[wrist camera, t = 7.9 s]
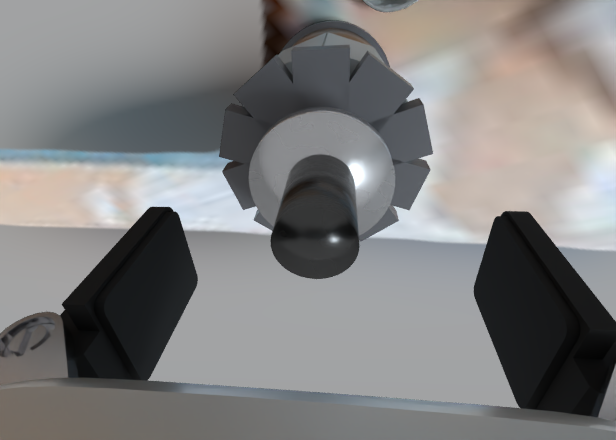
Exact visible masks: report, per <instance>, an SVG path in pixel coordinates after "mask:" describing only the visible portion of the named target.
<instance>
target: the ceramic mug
mask: <svg viewBox="0 0 616 440" xmlns="http://www.w3.org/2000/svg"><path fill="white" fill-rule="evenodd" d="M363 1H364V2H365V3H366V4H367V5H368V6H370V7H371V8H373V9H375V10H377V11H381V12H393V11H399V10H401V9H405V8H407V7H409V6H410V5H412V4H414V3H415V2H417V1H418V0H363Z"/></svg>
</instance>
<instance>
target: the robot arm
mask: <svg viewBox="0 0 616 440" xmlns="http://www.w3.org/2000/svg"><path fill="white" fill-rule="evenodd" d="M197 281H198V278H197V274H196V270H195V267H194V264H193V260H192V257H191V254H190V250H189V247H188V244H187V241H186V237H185V234H184V231H183V227H182V224H181V221H180V218H179V215H178V213H177V212H173V210H172V209H171V208H170V207H150V208H149V209H148V210H147V211H146V212H145V213H144V214H143V215H142V216H141V217H140V218H139V220H138V221H137V222H136V223H135V224H134V225H133V226H132V227H131V228H130V229H129V231H128V232H127V233H126V234H125V235H124V236H123V237H122V238H121V239H120V241H119V242H118V243H117V244H116V245H115V246H114V247H113V248H112V249H111V250H110V251H109V253H108V254H107V255H106V256H105V257H104V258H103V259H102V260H101V261H100V262H99V264H98V265H97V266H96V267H95V268H94V269H93V270H92V271H91V272H90V274H89V275H88V276H87V277H86V278H85V279H84V280H83V281H82V282H81V283H80V285H79V286H78V287H77V288H76V289H75V290H74V291H73V292H72V293H71V294H70V296H69V297H68V298H67V299H66V300H65V301H64V302H63V304H62V305H63V307H64V309H65V310H64V312H63V313H62V314H61V315H58V314H56V313H53V312H42V313H36V314H33V315H30V316H27V317H24V318H22V319H20V320H18V321H16V322H15V323H13V324H12V325H10V326H9V327H7V328H6V329H5V330H4V331H3V332H1V333H0V440H616V321H615V320H614V319H613V318H612V316H611V315H610V314H609V313H608V311H607V310H606V309H605V308H604V306H603V305H602V304H601V302H600V301H599V300H598V299H597V297H595V295H594V294H593V292H592V291H591V290H590V289H589V287H588V286H587V285H586V283H585V282H584V281H583V280H582V278H581V277H580V276H579V275H578V273H577V272H576V271H575V270H574V269H573V267H572V266H571V265H570V263H569V262H568V261H567V259H566V258H565V257H564V256H563V255H562V253H561V252H560V251H559V249H558V248H557V247H556V246H555V244H554V243H553V242H552V240H551V239H550V238H549V237H548V235H547V234H546V233H545V232H544V230H543V229H542V228H541V227H540V225H539V224H538V223H537V221H536V220H535V219H534V218H533V216H532V215H531V214H530V213H529V212H518V211H505V212H503V213H502V215H501V216H497V217H496V218H495V219H494V222H493V225H492V228H491V232H490V235H489V238H488V242H487V245H486V248H485V252H484V255H483V259H482V262H481V265H480V268H479V272H478V275H477V278H476V282H475V285H474V296H475V299H476V302H477V305H478V307H479V310H480V312H481V315H482V317H483V320H484V322H485V325H486V327H487V330H488V332H489V334H490V337H491V339H492V342H493V345H494V347H495V349H496V352H497V355H498V357H499V359H500V362H501V364H502V367H503V370H504V372H505V375H506V377H507V379H508V382H509V385H510V387H511V389H512V392H513V395H514V397H515V399H516V402H517V404H518V406H519V407H520V408H510V407H500V406H489V405H478V404H466V403H452V402H440V401H427V400H413V399H401V398H387V397H375V396H360V395H348V394H333V393H320V392H306V391H292V390H278V389H264V388H249V387H235V386H220V385H205V384H190V383H175V382H159V381H147V380H148V379H149V378H150V376H151V374H152V372H153V370H154V368H155V366H156V364H157V362H158V361H159V359H160V357H161V355H162V353H163V351H164V349H165V347H166V345H167V343H168V341H169V339H170V337H171V335H172V333H173V331H174V329H175V327H176V325H177V323H178V321H179V320H180V317H181V316H182V314H183V312H184V310H185V308H186V306H187V304H188V302H189V300H190V298H191V296H192V294H193V292H194V290H195V288H196V286H197Z"/></svg>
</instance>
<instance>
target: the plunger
mask: <svg viewBox="0 0 616 440" xmlns="http://www.w3.org/2000/svg"><path fill="white" fill-rule="evenodd" d="M249 187H250V191H251V195H252V198H253V200H254V203H255V205H256V207H257V208H258V210H259V212H260V213H261V214H262V216H263V217H264V218H265V219H266V220H267V221H268V222H269V223H270V224H271V225H272V226H273V227H274V228H273V232H272V235H271V248H272V251H273V254H274V256H275V258H276V259H277V261H278V262H279V263H280V264H281V265H282V266H283V267H284V268H285V269H287V270H288V271H290V272H292V273H294V274H296V275H299V276H302V277H306V278H312V279H323V278H329V277H333V276H335V275H338V274H340V273H342V272H344V271H345V270H346V269H348V268H349V267H350V266H351V265H352V264H353V263H354V261H355V259H356V257H357V255H358V252H359V235H361V234H363V233H365V232H366V231H368V230H369V229H371V228H372V227H373V226H374V225H375V224H376V223H377V222H378V221H379V220H380V219H381V218H382V217H383V215H384V214H385V212H386V211H387V209H388V207H389V205H390V203H391V201H392V198H393V195H394V189H395V170H394V166H393V162H392V159H391V155H390V152H389V149H388V147H387V145H386V143H385V141H384V140H383V138H382V137H381V135H380V134H379V133H378V132H377V131H376V129H375V128H374V127H373V126H371V125H370V124H369V123H368V122H367V121H365V120H364V119H362V118H361V117H359V116H357V115H355V114H353V113H351V112H348V111H345V110H342V109H337V108H331V107H313V108H306V109H302V110H299V111H296V112H293V113H291V114H289V115H287V116H285V117H283V118H281V119H280V120H279V121H277V122H276V123H275V124H274V125H273V126H272V127H271V128H270V129H269V130H268V131H267V132H266V133H265V135H264V136H263V137H262V139H261V141H260V143H259V144H258V146H257V148H256V150H255V152H254V154H253V157H252V160H251V163H250V168H249Z"/></svg>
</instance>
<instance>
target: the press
mask: <svg viewBox="0 0 616 440" xmlns="http://www.w3.org/2000/svg"><path fill="white" fill-rule="evenodd" d="M413 89H414V88H413V87H412V86H411V84H410V83H409V82H407V81H406V80H405V79H404V78H402V77H401V76H400V75H398V74H397V73H396V72H395V71H393V70H392V69H391V68H390V66H389V63H388V60H387V58H386V55H385V53H384V52H383V50H382V48H381V47H380V45H379V44H378V43H377V41H376V40H375V39H374V38H373V37H372V36H371V35H370V34H369V33H367V32H366V31H365V30H363V29H362V28H360V27H358V26H356V25H353V24H350V23H347V22H342V21H324V22H319V23H316V24H313V25H310V26H308V27H306V28H304V29H303V30H301V31H300V32H298V33H297V34H296V35H295V36H294V37H292V38H291V39H290V41H289V42H288V43H287V44H286V45H285V46H284V48H283V49H282V51H281V52H280V54H279V55H275V56H274V57H273V58H272V59H271V60H270V61H269V62H268V63H267V64H266V65H265V66H263V67H262V68H261V69H260V70H259V71H258V72H257V73H256V74H255V75H254V76H252V77H251V79H249V80H248V81H247V82H246V83H245V84H244V85H243V86H242V87H240V88H239V89H238V90H237V91H236V92H235V93H234V94H233V95H234V96H235V97H236V98H237V99H238V100H239V102H240V103H241V104H242V106H238V105H235V104H231V105H229V107H227V109H226V110H225V116H224V124H223V131H222V139H221V146H220V154H219V157H222V158H226V159H229V160H233V161H232V162H229V163H227V165H226V166H225V168H224V170H223V171H222V172H223V174H224V176H225V178H226V180H227V181H228V183H229V185H230V187H231V189H232V190H233V192H234V194H235V196H236V198H237V199H238V201H239V203H240V205H241V207H242V209H243V210H245V209H248V208H251V207H255V206H256V205H255V203H254V200H253V198H252V195H251V191H250V187H249V168H250V163H251V160H252V157H253V154H254V152H255V150H256V148H257V146H258V144H259V143H260V141H261V139H262V137H263V136H264V135H265V133H266V132H267V131H268V130H269V129H270V128H271V127H272V126H273V125H274V124H275V123H276V122H277V121H279V120H280V119H281V118H283V117H285V116H287V115H289V114H291V113H293V112H296V111H299V110H302V109H306V108H313V107H331V108H337V109H342V110H345V111H348V112H351V113H353V114H355V115H357V116H359V117H361V118H362V119H364V120H365V121H367V122H368V123H369V124H370V125H371V126H373V127H374V128H375V129H376V131H377V132H378V133H379V134H380V135H381V137H382V138H383V140H384V141H385V143H386V145H387V147H388V149H389V152H390V155H391V159H392V162H393V166H394V170H395V189H394V195H393V198H392V201H391V203H390V205H389V207H388V209H387V211H386V212H385V214H384V215H383V217H382V218H381V219H380V220H379V221H378V222H377V223H376V224H375V225H374V226H373V227H372V228H371V229H369V230H368V231H366V232H365V233H363V234H361V235H359V240H360V241H363V240H364V239H366V238H368V237H370V236H372V235H374V234H375V233H377V232H379V231H381V230H383V229H384V228H386V227H388V226H390V225H392V224H394V223H395V222H397V221H399V220H398V216H397V212H396V210H395V208H394V207H393V206H396V207H400V208H403V209H407V210H410V208H411V206H412V204H413V202H414V200H415V198H416V196H417V195H418V193H419V191H420V189H421V187H422V185H423V183H424V181H425V179H426V177H427V175H428V174H429V172H430V168H429V166H428V164H427V162H426V161H425V160H422V159H418V158H421V157H424V156H427V155H431V154H433V151H432V146H431V141H430V136H429V130H428V125H427V120H426V115H425V110H424V105H423V103H422V102H421V100H420V99H419V98H418V99H415V100H412V101H409V102H408V101H407V99H406V98H407V97H408V96H409V94H410V93H411V92H412V91H413ZM392 205H393V206H392ZM254 221H256V222H258V223H260V224H261V225H263V226H265V227H267V228H268V229H270V230H272V231H273V228H274V227H273V226H272V225H271V224H270V223H269V222H268V221H267V220H266V219H265V218H264V217H263V216H262V214H261V213H260V212H259V210H257V212H256V215H255V218H254Z"/></svg>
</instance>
